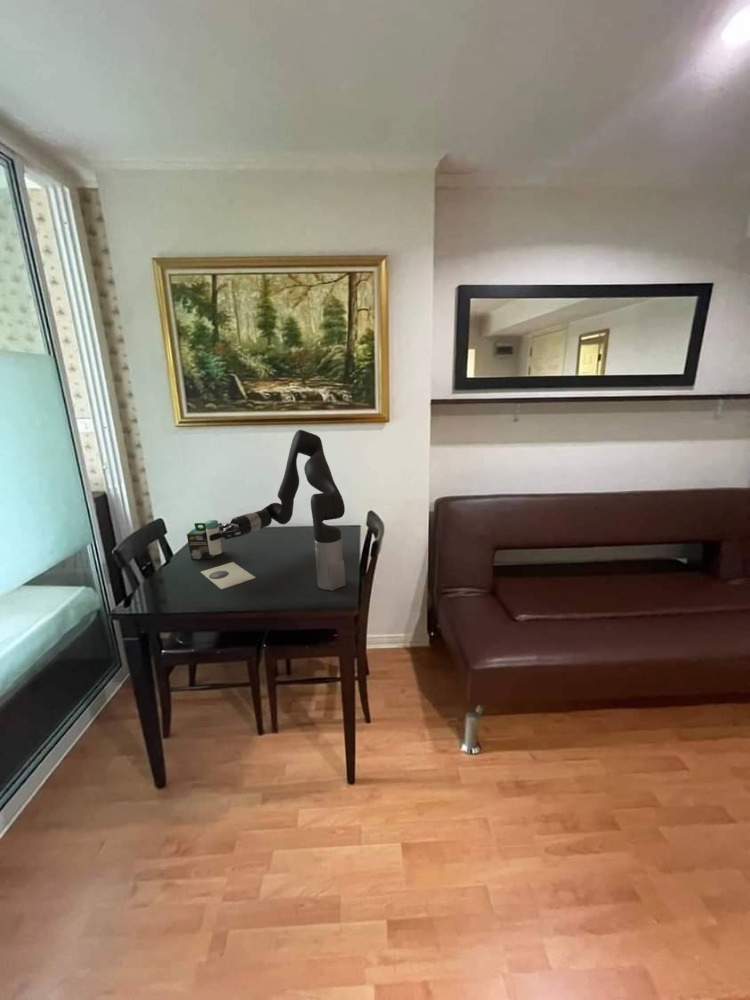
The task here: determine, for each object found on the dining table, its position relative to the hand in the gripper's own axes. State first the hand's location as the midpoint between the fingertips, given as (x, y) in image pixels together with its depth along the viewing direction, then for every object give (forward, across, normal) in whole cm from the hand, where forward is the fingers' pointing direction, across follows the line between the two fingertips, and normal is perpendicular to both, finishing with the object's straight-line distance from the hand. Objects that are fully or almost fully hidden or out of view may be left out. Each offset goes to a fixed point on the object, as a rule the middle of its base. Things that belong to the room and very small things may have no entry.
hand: (206, 537), depth 159 cm
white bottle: (-3, 0, +7) cm, 8 cm away
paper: (-5, +3, +16) cm, 17 cm away
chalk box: (-11, -23, +17) cm, 30 cm away
